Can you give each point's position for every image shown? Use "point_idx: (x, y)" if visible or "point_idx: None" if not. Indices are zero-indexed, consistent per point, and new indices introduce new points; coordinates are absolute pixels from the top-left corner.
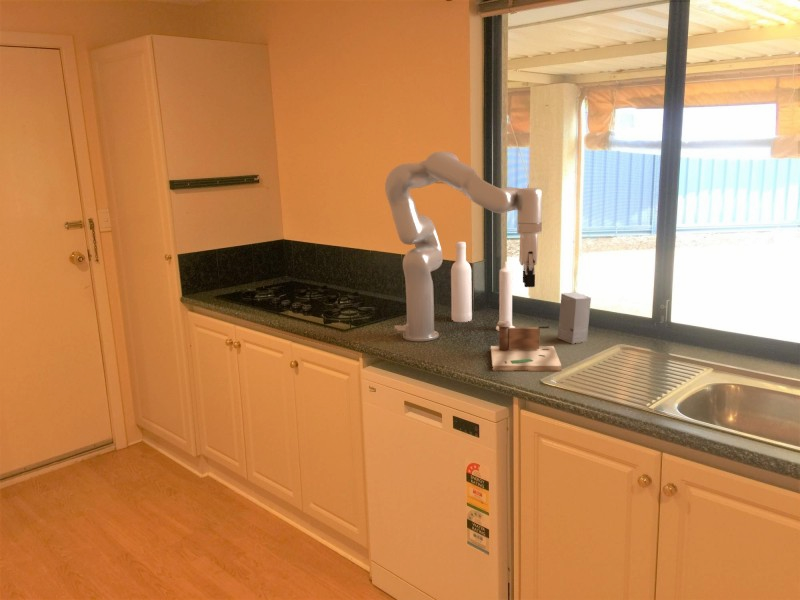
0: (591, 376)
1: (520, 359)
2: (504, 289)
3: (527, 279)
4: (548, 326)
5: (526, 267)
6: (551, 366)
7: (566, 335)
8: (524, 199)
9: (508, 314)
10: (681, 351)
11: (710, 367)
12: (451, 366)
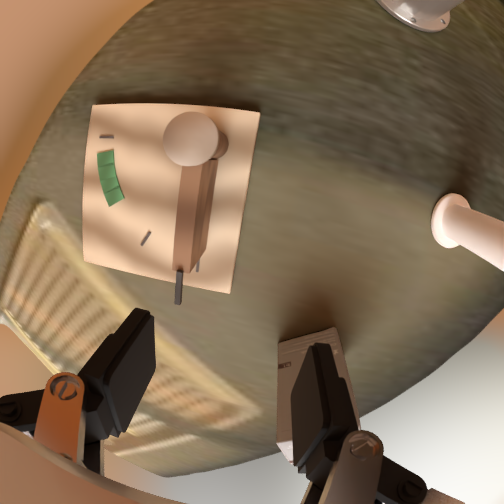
0: (71, 297)
1: (122, 177)
2: None
3: (93, 356)
4: (178, 303)
5: (39, 436)
6: (83, 239)
7: (300, 346)
8: None
9: (465, 236)
10: (206, 447)
11: (137, 436)
12: (145, 19)
